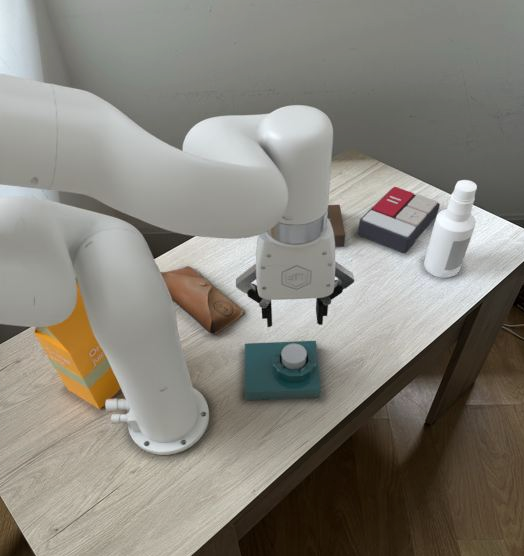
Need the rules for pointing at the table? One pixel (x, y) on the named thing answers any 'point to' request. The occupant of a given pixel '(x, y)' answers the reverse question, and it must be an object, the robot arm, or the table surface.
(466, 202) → the spray bottle
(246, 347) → the grey cylindrical knob base
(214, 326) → the sunglasses case
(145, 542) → the table surface
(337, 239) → the selector
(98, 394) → the orange juice
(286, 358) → the grey cylindrical knob
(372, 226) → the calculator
